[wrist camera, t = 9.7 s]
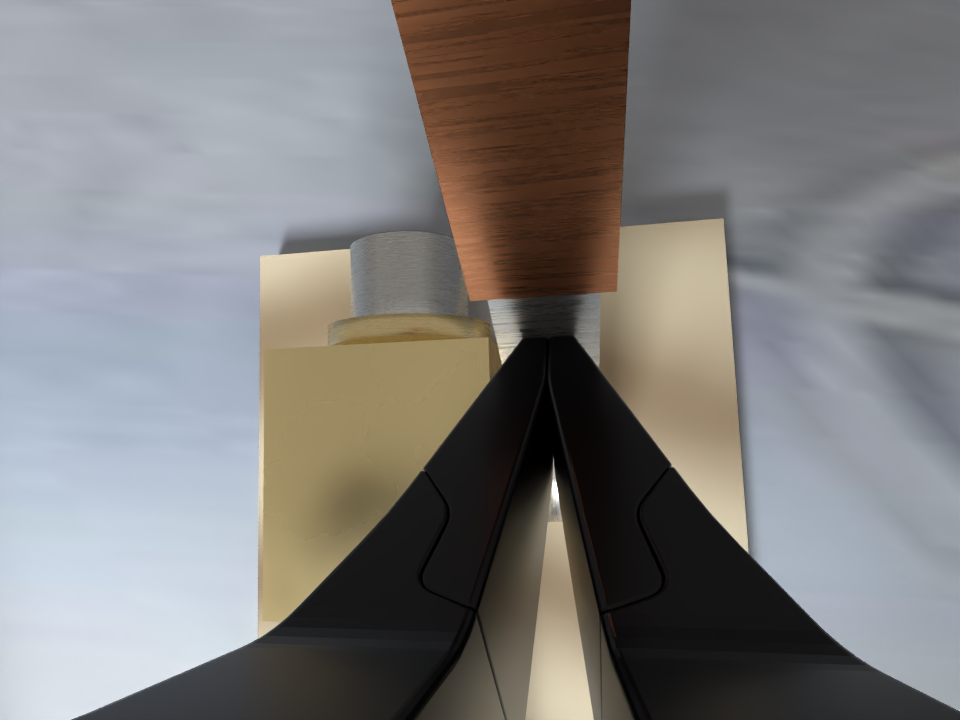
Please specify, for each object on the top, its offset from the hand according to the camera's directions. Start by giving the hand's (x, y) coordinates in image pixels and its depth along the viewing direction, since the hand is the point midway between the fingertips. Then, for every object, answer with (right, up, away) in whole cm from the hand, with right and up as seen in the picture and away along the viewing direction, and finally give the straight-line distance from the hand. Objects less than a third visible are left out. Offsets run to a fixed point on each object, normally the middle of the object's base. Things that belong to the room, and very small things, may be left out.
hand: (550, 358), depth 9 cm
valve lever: (+1, -4, +7) cm, 8 cm away
